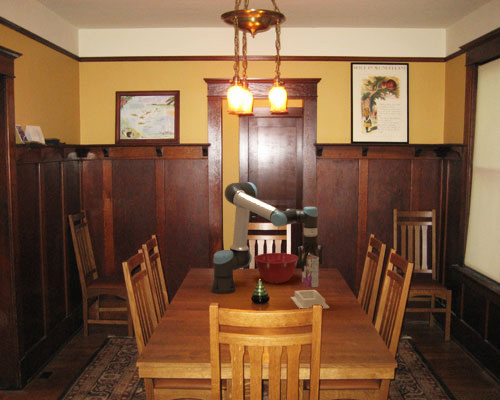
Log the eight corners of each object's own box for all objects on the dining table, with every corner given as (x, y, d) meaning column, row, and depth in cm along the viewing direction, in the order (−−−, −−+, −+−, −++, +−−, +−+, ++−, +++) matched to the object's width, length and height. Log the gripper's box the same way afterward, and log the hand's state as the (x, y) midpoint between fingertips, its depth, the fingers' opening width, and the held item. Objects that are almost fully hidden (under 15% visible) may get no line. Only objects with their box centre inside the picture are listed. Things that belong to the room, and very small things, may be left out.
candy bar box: (301, 282, 260) (301, 253, 259) (309, 281, 262) (309, 252, 260) (310, 287, 250) (311, 257, 248) (319, 287, 252) (319, 257, 250)
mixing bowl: (248, 284, 292) (248, 260, 290) (261, 273, 319) (261, 251, 317) (292, 289, 283) (292, 264, 281) (302, 276, 310) (302, 254, 308)
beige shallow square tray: (300, 309, 246) (300, 301, 246) (290, 297, 266) (290, 290, 265) (329, 308, 249) (329, 299, 248) (317, 296, 269) (317, 288, 268)
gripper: (295, 237, 248) (295, 279, 250) (329, 235, 251) (328, 277, 254) (292, 234, 255) (291, 276, 258) (324, 233, 259) (324, 274, 261)
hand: (310, 276), depth 256 cm, fingers closed on candy bar box, 6 cm apart
